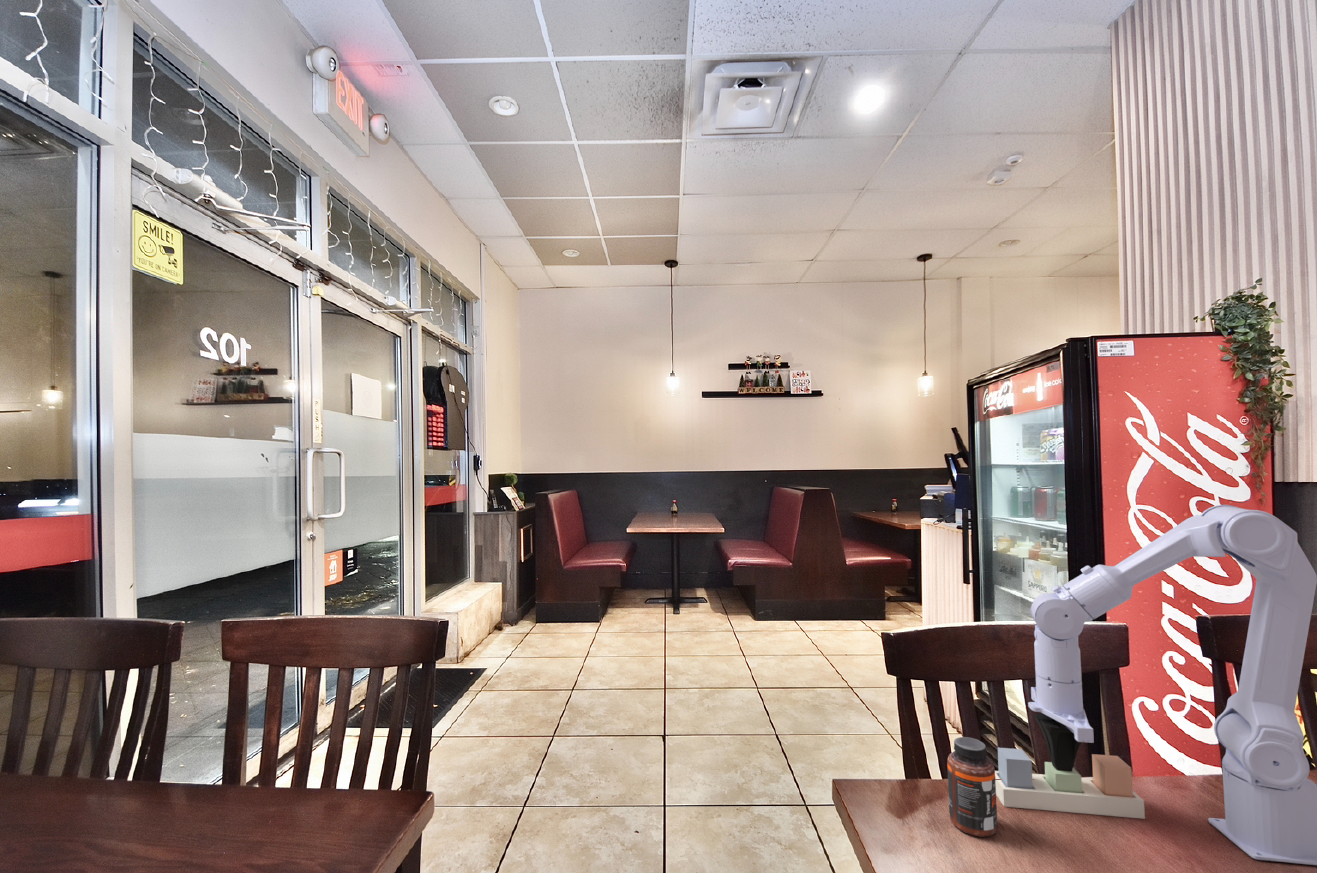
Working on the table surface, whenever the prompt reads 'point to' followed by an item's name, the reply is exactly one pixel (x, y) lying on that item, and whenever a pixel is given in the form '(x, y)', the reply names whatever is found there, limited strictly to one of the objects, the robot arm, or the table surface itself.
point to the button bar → (1069, 799)
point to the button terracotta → (1112, 775)
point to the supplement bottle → (972, 788)
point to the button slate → (1015, 768)
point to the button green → (1063, 779)
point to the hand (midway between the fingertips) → (1062, 768)
